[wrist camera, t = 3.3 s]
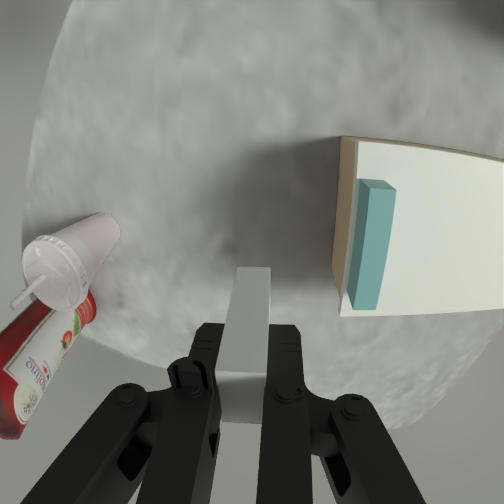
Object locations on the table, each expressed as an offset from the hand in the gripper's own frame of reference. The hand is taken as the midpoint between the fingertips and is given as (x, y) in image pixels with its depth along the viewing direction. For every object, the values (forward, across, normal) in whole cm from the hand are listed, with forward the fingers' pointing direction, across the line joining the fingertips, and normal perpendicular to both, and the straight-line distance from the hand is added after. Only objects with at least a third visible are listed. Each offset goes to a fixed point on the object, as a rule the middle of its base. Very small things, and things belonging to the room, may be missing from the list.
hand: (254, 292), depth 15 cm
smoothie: (+14, -16, -2) cm, 21 cm away
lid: (+7, +15, 0) cm, 17 cm away
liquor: (+14, -22, -10) cm, 28 cm away
